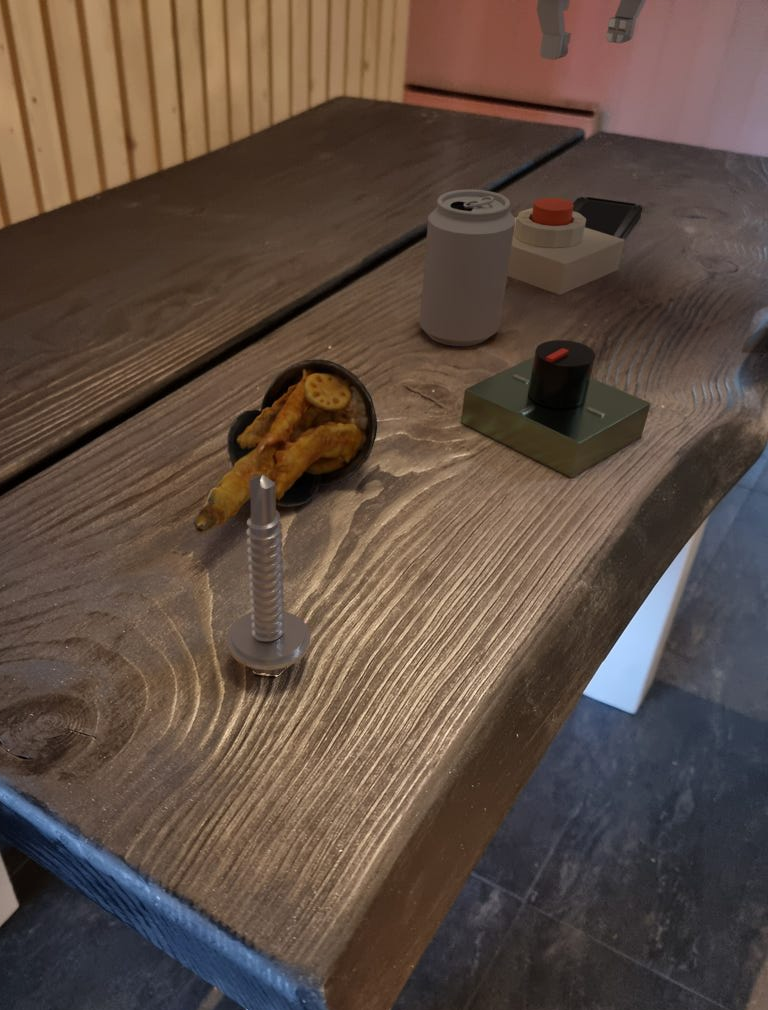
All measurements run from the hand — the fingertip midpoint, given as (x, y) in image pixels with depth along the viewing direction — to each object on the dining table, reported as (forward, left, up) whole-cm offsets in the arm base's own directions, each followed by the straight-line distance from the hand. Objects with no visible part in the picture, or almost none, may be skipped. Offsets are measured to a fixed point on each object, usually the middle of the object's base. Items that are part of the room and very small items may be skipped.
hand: (586, 49), depth 80 cm
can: (-1, +14, -21) cm, 25 cm away
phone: (+7, -18, -21) cm, 29 cm away
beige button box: (+4, -5, -21) cm, 22 cm away
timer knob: (-18, +22, -18) cm, 34 cm away
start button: (+4, -5, -16) cm, 18 cm away
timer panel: (-18, +22, -21) cm, 35 cm away
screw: (-24, +56, -21) cm, 64 cm away
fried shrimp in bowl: (-11, +44, -21) cm, 50 cm away
